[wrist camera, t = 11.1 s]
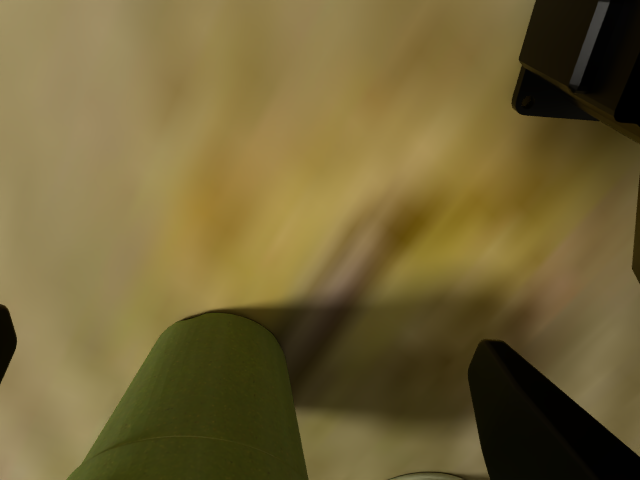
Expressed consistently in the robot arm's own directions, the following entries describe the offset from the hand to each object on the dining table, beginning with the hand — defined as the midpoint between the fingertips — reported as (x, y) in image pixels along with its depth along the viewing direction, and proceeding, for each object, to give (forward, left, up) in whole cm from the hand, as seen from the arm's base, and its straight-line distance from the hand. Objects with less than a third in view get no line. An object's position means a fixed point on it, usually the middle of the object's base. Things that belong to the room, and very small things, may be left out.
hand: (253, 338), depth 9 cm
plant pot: (+3, +13, -12) cm, 18 cm away
